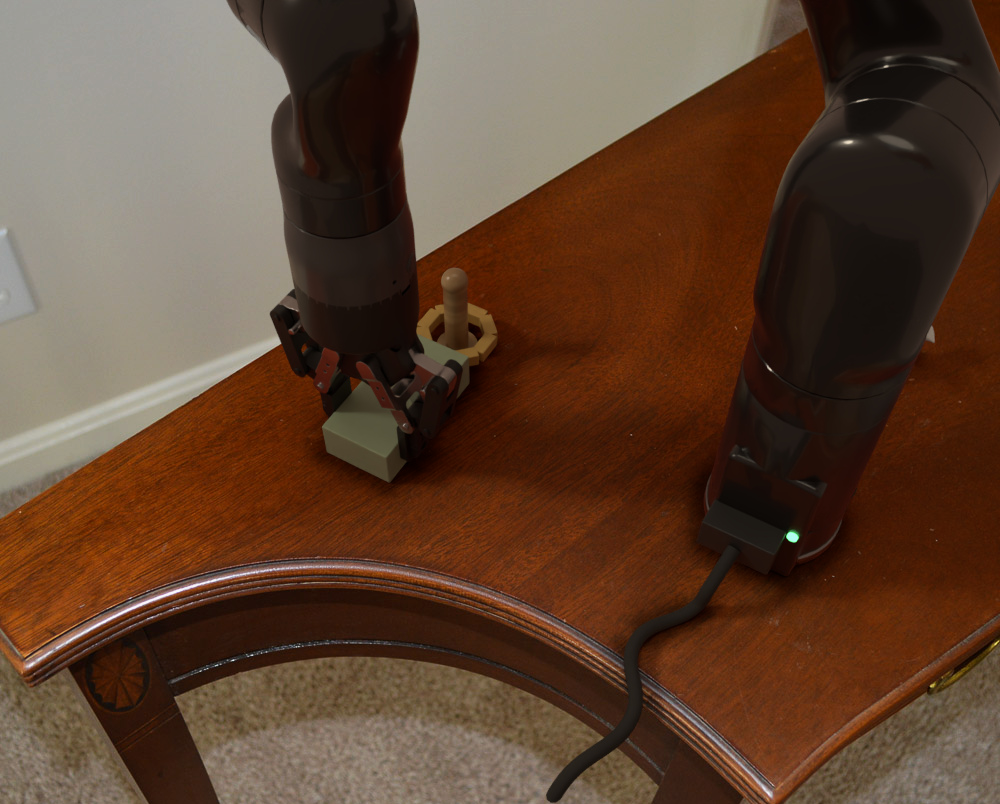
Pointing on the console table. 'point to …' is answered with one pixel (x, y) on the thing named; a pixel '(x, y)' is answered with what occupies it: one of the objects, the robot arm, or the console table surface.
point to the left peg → (456, 311)
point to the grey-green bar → (372, 430)
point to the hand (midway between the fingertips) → (377, 434)
